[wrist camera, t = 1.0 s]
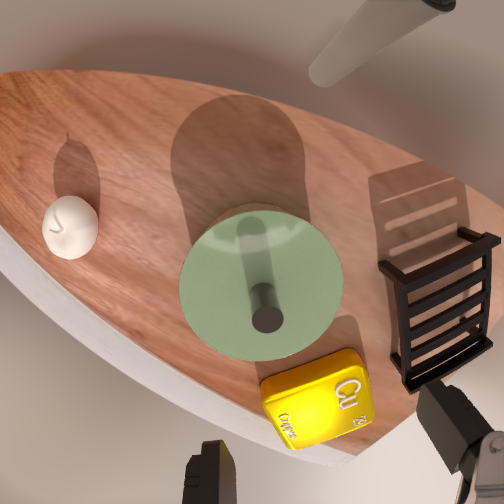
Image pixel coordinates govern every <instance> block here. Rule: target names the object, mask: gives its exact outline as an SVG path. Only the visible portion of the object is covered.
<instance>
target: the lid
mask: <svg viewBox="0 0 504 504" xmlns="http://www.w3.org/2000/svg"><path fill="white" fill-rule="evenodd" d="M342 293H343V273H342V267H341V264H340V261H339V258H338V255H337V253H336V251H335V249H334V248H333V246H332V245H331V243H330V242H329V240H328V239H327V238H326V237H325V236H324V235H323V234H322V233H321V232H320V231H319V230H318V229H317V228H316V227H314V226H313V225H312V224H310V223H309V222H307V221H305V220H304V219H302V218H299V217H297V216H295V215H292V214H289V213H285V212H282V211H275V210H253V211H246V212H242V213H238V214H235V215H232V216H230V217H227V218H225V219H223V220H221V221H220V222H218V223H216V224H215V225H213V226H212V227H210V228H209V229H208V230H207V231H205V232H204V233H203V234H202V235H201V236H200V237H199V239H198V240H197V241H196V242H195V243H194V245H193V246H192V248H191V249H190V251H189V253H188V255H187V257H186V259H185V261H184V263H183V266H182V269H181V274H180V279H179V298H180V303H181V307H182V311H183V313H184V315H185V318H186V320H187V322H188V323H189V325H190V327H191V328H192V329H193V331H194V332H195V333H196V335H197V336H198V337H199V338H200V339H201V340H202V341H203V342H205V343H206V344H207V345H209V346H210V347H211V348H213V349H215V350H216V351H218V352H220V353H222V354H225V355H227V356H230V357H233V358H236V359H241V360H246V361H270V360H276V359H280V358H284V357H287V356H290V355H292V354H295V353H297V352H299V351H301V350H303V349H304V348H306V347H308V346H309V345H311V344H312V343H313V342H314V341H316V340H317V339H318V338H319V337H320V336H321V335H322V334H323V333H324V332H325V331H326V329H327V328H328V327H329V325H330V324H331V323H332V321H333V319H334V317H335V315H336V313H337V311H338V308H339V306H340V302H341V299H342Z"/></svg>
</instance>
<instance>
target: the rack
mask: <svg viewBox="0 0 504 504" xmlns="http://www.w3.org/2000/svg"><path fill="white" fill-rule="evenodd" d="M458 237H460V238H462V239H465V240H467V241H469V242H471V243H472V244H470V245H468V246H466V247H464V248H462V249H460V250H458V251H456V252H454V253H452V254H450V255H447V256H445V257H443V258H441V259H439V260H437V261H435V262H432V263H430V264H428V265H426V266H424V267H421V268H419V269H417V270H415V271H412V272H410V273H408V274H404V273H403V272H402V271H401V270H399V269H398V268H396V267H395V266H394V265H392V264H391V263H390V262H388V261H387V260H383V261H380V262H378V266H379V271H381V272H382V273H383V274H384V275H385V276H387V277H388V278H389V279H390V280H391V281H392V282H394V289H395V297H396V305H397V315H398V325H399V337H400V351H401V357H400V356H399V354H398V353H397V352H396V353H394V354H391V355H390V357H391V361H392V363H393V364H394V366H395V367H396V369H397V370H398V371H399V373H400V374H401V376H402V384H403V385H404V386H405V388H406V390H407V391H408V393H409V394H410V395H412V394H414V393H416V392H418V391H420V387H421V386H422V385H424V384H426V383H428V382H430V381H432V380H435V379H437V378H438V379H442V378H444V377H445V376H447V375H449V374H451V373H452V372H454V371H456V370H457V369H459V368H461V367H462V366H464V365H465V364H467V363H468V362H470V361H472V360H473V359H475V358H476V357H478V356H479V355H481V354H482V353H484V352H485V351H487V350H488V349H490V348H491V347H492V346H493V342H492V341H491V340H490V339H489V338H487V337H486V334H487V327H488V318H489V308H490V294H491V271H492V248H493V247H495V246H497V245H499V244H501V237H498V236H496V235H493V234H491V233H488V232H485V233H483V234H480V233H477V232H475V231H472V230H470V229H467V228H465V227H461V228H459V229H458ZM481 257H482V267H481V268H479V269H478V270H476V271H474V272H472V273H470V274H468V275H467V276H465V277H463V278H461V279H459V280H457V281H455V282H453V283H451V284H450V285H448V286H446V287H444V288H442V289H440V290H438V291H436V292H434V293H432V294H430V295H427V296H425V297H423V298H421V299H419V300H417V301H415V302H413V303H410V304H408V296H407V294H408V293H410V292H412V291H415V290H417V289H419V288H421V287H423V286H425V285H427V284H430V283H432V282H434V281H436V280H438V279H440V278H442V277H444V276H446V275H448V274H450V273H452V272H454V271H456V270H458V269H460V268H462V267H464V266H466V265H468V264H469V263H471V262H473V261H475V260H477V259H479V258H481ZM481 281H482V290H480V291H478V292H477V293H475V294H473V295H472V296H470V297H468V298H466V299H465V300H463V301H461V302H459V303H457V304H456V305H454V306H452V307H450V308H448V309H446V310H445V311H443V312H441V313H439V314H437V315H435V316H433V317H431V318H429V319H427V320H425V321H423V322H421V323H419V324H417V325H415V326H413V327H411V328H410V320H409V319H410V318H412V317H415V316H417V315H419V314H421V313H423V312H425V311H427V310H429V309H431V308H433V307H435V306H437V305H439V304H441V303H443V302H445V301H447V300H448V299H450V298H452V297H454V296H456V295H458V294H460V293H461V292H463V291H465V290H467V289H469V288H470V287H472V286H474V285H476V284H477V283H479V282H481ZM480 303H481V310H480V311H479V312H477V313H475V314H474V315H472V316H470V317H469V318H465V317H464V318H462V319H460V323H458V324H457V325H455V326H453V327H451V328H450V329H448V330H446V331H444V332H442V333H441V334H439V335H437V336H435V337H433V338H431V339H429V340H427V341H425V342H423V343H421V344H419V345H417V346H415V347H413V348H411V341H412V340H414V339H416V338H419V337H421V336H423V335H425V334H426V333H428V332H430V331H432V330H434V329H436V328H438V327H440V326H442V325H444V324H445V323H447V322H449V321H451V320H453V319H455V318H456V317H458V316H460V315H462V314H463V313H465V312H467V311H468V310H470V309H472V308H473V307H475V306H477V305H478V304H480ZM477 324H479V328H478V327H476V325H477ZM466 331H467V332H468V333H469V334H470V335H469V336H467V337H465V338H464V339H462V340H460V341H459V342H457V343H455V344H454V345H452V346H450V347H448V348H447V349H445V350H443V351H441V352H439V353H438V354H436V355H434V356H432V357H430V358H428V359H426V360H424V361H423V362H421V363H419V364H417V365H415V366H413V367H411V361H413V360H415V359H417V358H419V357H421V356H423V355H425V354H426V353H428V352H430V351H432V350H434V349H436V348H438V347H440V346H441V345H443V344H445V343H447V342H449V341H450V340H452V339H454V338H456V337H457V336H459V335H461V334H462V333H464V332H466ZM477 341H479V342H477ZM475 342H477V343H476V344H474V343H475ZM472 344H474V345H473V346H471V345H472ZM469 346H471V347H470V348H468V347H469ZM466 348H468V349H466ZM464 349H466V350H465V351H463V350H464ZM461 351H463V352H462V353H460V354H458V353H459V352H461ZM456 354H458V355H457V356H455V357H453V356H454V355H456ZM451 357H453V358H451ZM449 358H451V359H450V360H448V361H446V360H447V359H449ZM444 361H446V362H444ZM442 362H444V363H443V364H441V365H439V364H440V363H442ZM437 365H439V366H437ZM435 366H437V367H435ZM433 367H435V368H434V369H432V370H430V371H428V372H426V371H427V370H429V369H431V368H433ZM424 372H426V373H424ZM422 373H424V374H422ZM420 374H422V375H420ZM418 375H420V376H418ZM416 376H418V377H416ZM414 377H416V378H414ZM412 378H414V379H412ZM411 379H412V380H411Z"/></svg>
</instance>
